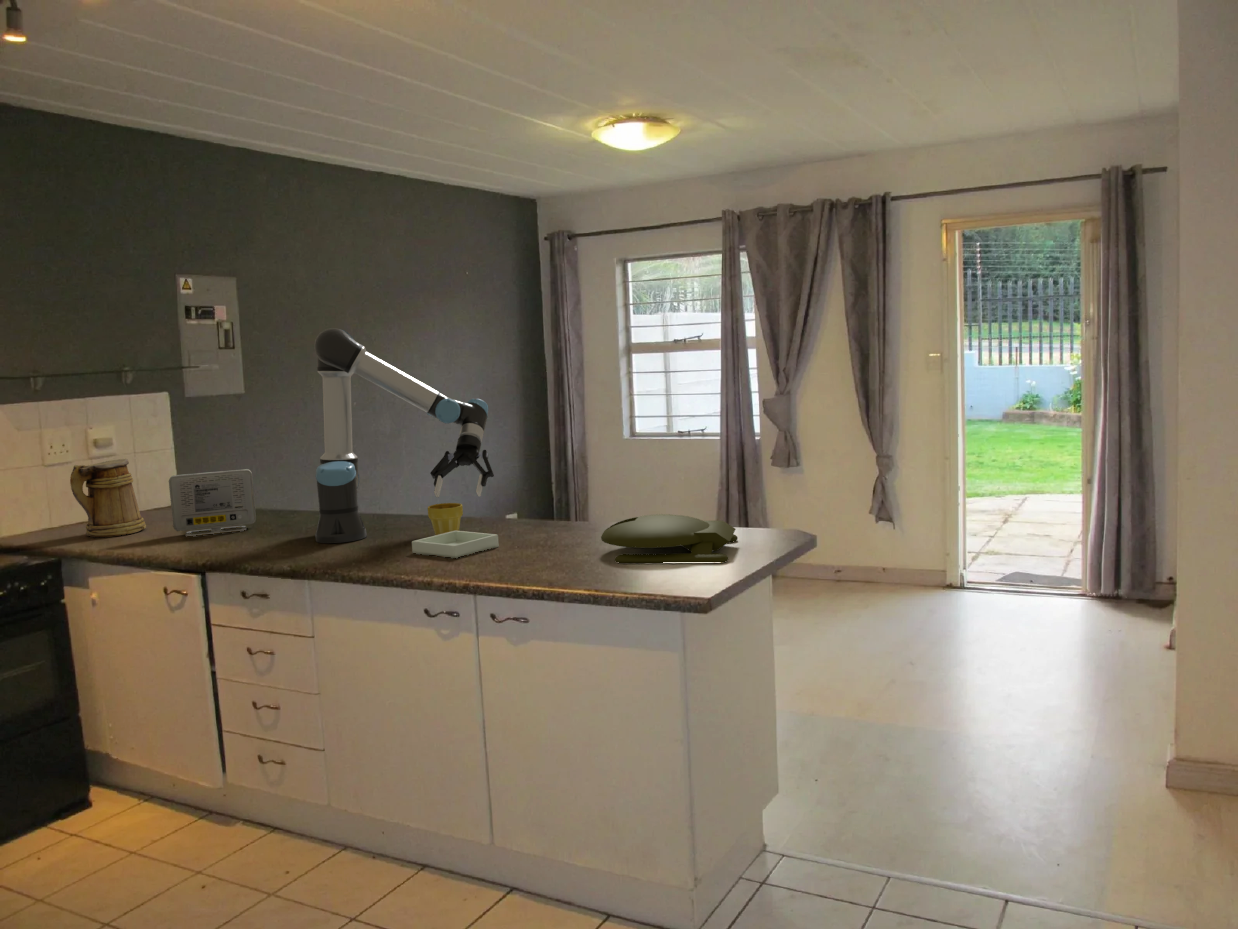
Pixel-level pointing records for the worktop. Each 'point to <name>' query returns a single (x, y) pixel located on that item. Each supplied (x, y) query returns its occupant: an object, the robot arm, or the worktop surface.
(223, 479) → the network device
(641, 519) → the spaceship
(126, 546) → the worktop surface
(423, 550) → the tray
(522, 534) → the worktop surface
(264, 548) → the worktop surface
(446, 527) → the plant pot
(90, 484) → the tankard
